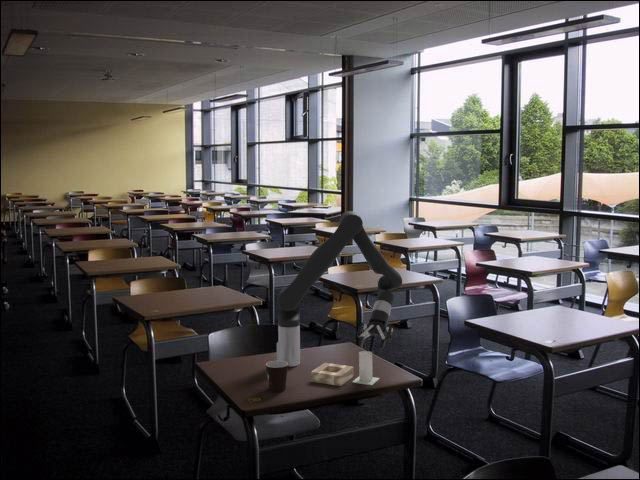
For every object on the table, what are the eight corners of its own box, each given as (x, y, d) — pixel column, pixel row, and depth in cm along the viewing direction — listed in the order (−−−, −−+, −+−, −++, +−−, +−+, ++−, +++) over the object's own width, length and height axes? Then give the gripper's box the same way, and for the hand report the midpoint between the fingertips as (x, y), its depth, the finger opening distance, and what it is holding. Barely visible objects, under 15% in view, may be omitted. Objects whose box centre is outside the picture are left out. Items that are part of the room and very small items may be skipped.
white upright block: (355, 382, 253) (355, 355, 252) (362, 376, 260) (361, 350, 258) (367, 384, 251) (367, 356, 250) (374, 378, 257) (374, 351, 256)
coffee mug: (285, 393, 242) (285, 368, 241) (263, 392, 244) (262, 366, 243) (292, 383, 254) (292, 358, 252) (271, 382, 255) (271, 357, 254)
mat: (352, 382, 254) (352, 381, 254) (360, 375, 262) (360, 375, 262) (372, 385, 251) (372, 384, 251) (379, 378, 258) (379, 378, 258)
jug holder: (311, 381, 255) (311, 371, 255) (324, 371, 267) (324, 362, 266) (340, 386, 250) (340, 376, 250) (353, 376, 262) (353, 366, 261)
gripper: (362, 307, 268) (351, 340, 260) (394, 310, 262) (385, 345, 254) (367, 316, 274) (356, 350, 265) (398, 320, 268) (389, 354, 259)
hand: (370, 347), depth 259 cm, fingers open, 8 cm apart
